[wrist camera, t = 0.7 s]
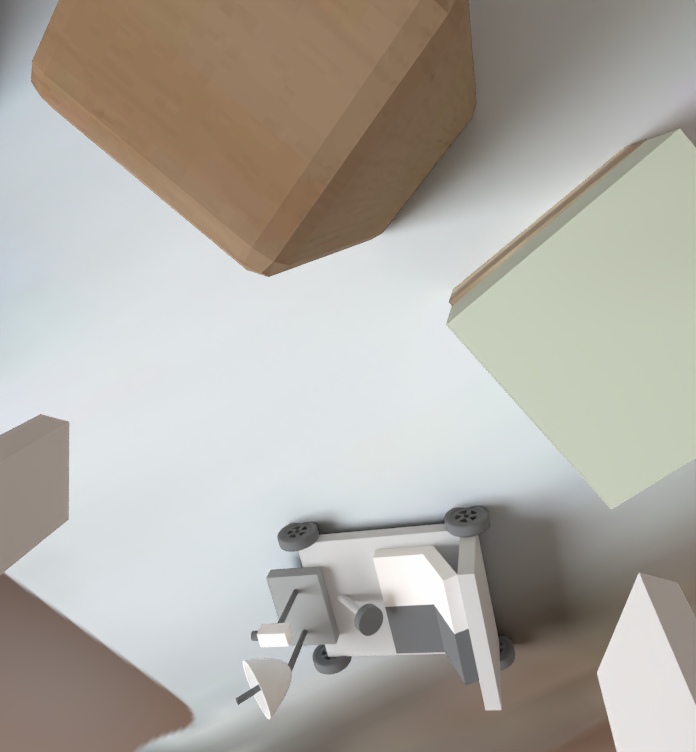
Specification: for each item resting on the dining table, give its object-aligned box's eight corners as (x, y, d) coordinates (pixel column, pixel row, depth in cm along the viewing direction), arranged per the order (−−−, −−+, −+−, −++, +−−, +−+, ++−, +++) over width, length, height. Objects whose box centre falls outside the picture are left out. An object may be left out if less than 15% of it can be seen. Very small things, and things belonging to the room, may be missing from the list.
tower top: (451, 306, 32) (446, 324, 27) (646, 140, 27) (679, 128, 23) (592, 465, 32) (611, 509, 28) (803, 327, 28) (866, 353, 24)
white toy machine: (245, 755, 39) (194, 608, 36) (290, 648, 48) (253, 524, 45) (522, 761, 34) (489, 591, 31) (514, 640, 43) (488, 501, 40)
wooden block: (348, -11, 32) (165, -292, 14) (484, 104, 33) (484, -21, 14) (252, 142, 36) (4, 82, 17) (374, 245, 36) (259, 294, 18)
